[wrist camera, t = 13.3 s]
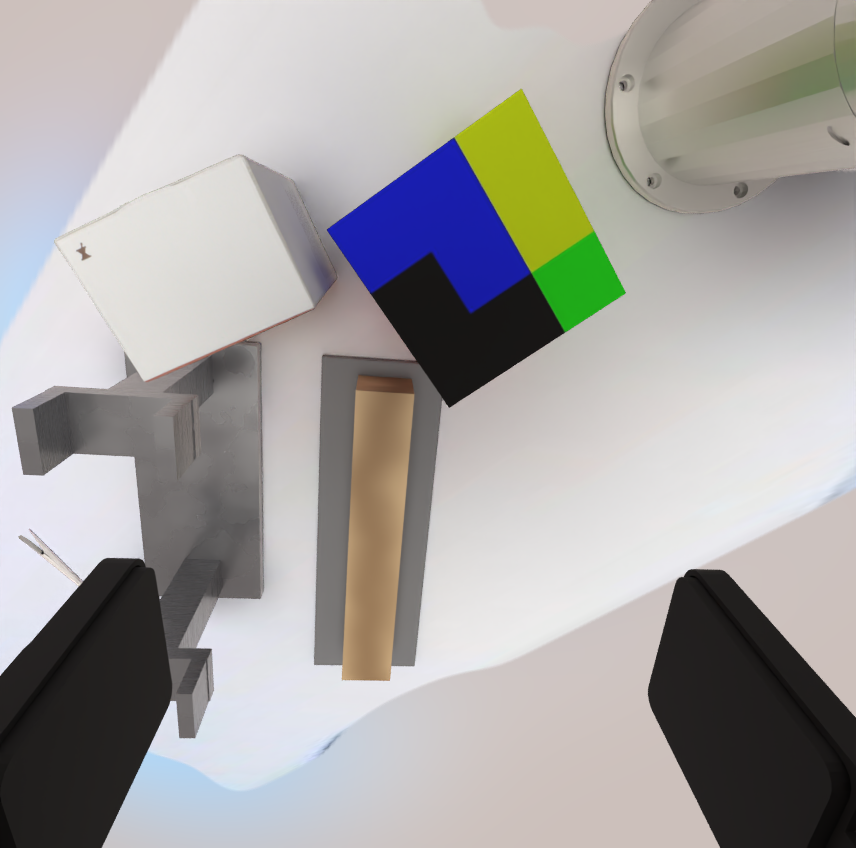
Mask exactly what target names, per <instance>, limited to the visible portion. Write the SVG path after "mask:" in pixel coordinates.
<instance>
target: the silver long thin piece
mask: <svg viewBox="0 0 856 848" xmlns="http://www.w3.org/2000/svg"><path fill="white" fill-rule="evenodd" d="M29 531H30V532H31V534H32V535H33V536H34V538H35V539H36V541H37V542H38V544H39V545H40V546H41V548H42V549H43V551H44V552H43V551H42V550H41V549H39V548H38V547H37V546H36V545H34V544H33V543H32V542H31V541H29V540H28V539H27V538H25V537H23V536H18V537H19V539H21V540H22V541H23V542H24V543H26V544H27V545H28V546H29V547H31V548H32V549H33V550H34V551H36V552H37V553H38V554H39V555H41V556H42V557H43V558H44V559H45V560H47V561H48V562H49V563H50V564H52V565H53V566H54V567H55V568H57V569H58V570H59V571H60V572H62V573H63V574H64V575H65V576H67V577H68V578H69V579H70V580H71V581H73V582H74V583H75V584H76V585H78V586H80V585H81V584H82V582H83V581H82V580H81V579H80V578H79V577H78V576H77V575H76V574H75V573H74V572H73V571H72V570H71V569H70V568H69V567H68V566H67V565H66V564H65V563H64V562H63V561H62V560H61V559H60V558H58V557H57V556H56V555H55V554H54V553H53V552H52V551H51V550H50V549H49V548H48V547H47V546H46V545H45V544H44V543H43V542H42V541H41V540H40V539H39V538H38V537H37V536H36V535H35V534H34V533H33V532H32V531H31V530H30V529H29Z"/></svg>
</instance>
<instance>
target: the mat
mask: <svg viewBox="0 0 856 848" xmlns="http://www.w3.org/2000/svg"><path fill="white" fill-rule="evenodd" d="M358 375H363V376H378V377H392V378H407V379H412V383H413V389H414V405H413V417H412V429H411V440H410V452H409V464H408V475H407V487H406V499H405V510H404V522H403V534H402V545H401V557H400V569H399V580H398V592H397V604H396V615H395V627H394V639H393V650H392V662H391V666H414V665H415V655H416V645H417V635H418V626H419V616H420V606H421V596H422V587H423V577H424V567H425V557H426V548H427V538H428V528H429V519H430V509H431V499H432V489H433V480H434V470H435V460H436V450H437V441H438V431H439V421H440V411H441V402H442V397H441V395H440V394H439V392H438V391H437V389H436V388H435V387H434V385H433V384H432V382H431V381H430V379H429V378H428V376H427V375H426V374H425V372H424V371H423V369H422V368H421V366H420V365H419V363H418V362H413V361H399V360H384V359H370V358H356V357H342V356H328V355H323V356H322V380H321V419H320V458H319V497H318V537H317V576H316V615H315V654H314V665H343V645H344V625H345V604H346V583H347V562H348V542H349V521H350V500H351V479H352V459H353V438H354V417H355V396H356V386H357V380H358Z"/></svg>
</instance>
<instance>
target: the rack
mask: <svg viewBox="0 0 856 848" xmlns="http://www.w3.org/2000/svg"><path fill="white" fill-rule="evenodd" d="M124 354H125V364H126V374H127V378H126V379H124V380H122V381H121V382H119V383H117V384H116V385H114V386H112V387H111V388H109V389H95V388H79V387H63V386H54V387H52V388H50V389H48V390H46V391H45V392H43V393H41V394H39V395H37V396H35V397H33V398H31V399H29V400H26V401H24V402H22V403H20V404H18V405H16V406H14V407H12V412H13V418H14V423H15V429H16V435H17V441H18V447H19V452H20V458H21V464H22V470H23V475H45V474H46V473H47V472H49V471H50V470H52V469H53V468H54V467H56V466H57V465H58V464H60V463H61V462H62V461H64V460H65V459H67V458H68V457H69V456H71V455H72V454H93V455H112V456H132V457H135V467H136V477H137V487H138V498H139V508H140V518H141V529H142V539H143V549H144V559H145V566H146V567H151V568H153V569H154V571H155V575H156V581H157V587H158V594H159V596H162V598H161V599H160V607H161V613H162V620H163V626H164V633H165V639H166V646H167V652H168V659H169V665H170V672H171V678H172V696H171V700H170V701H176V702H177V714H178V726H179V738H195V737H196V735H197V732H198V729H199V726H200V724H201V721H202V718H203V716H204V713H205V710H206V708H207V705H208V702H209V701H210V699H211V696H212V694H213V691H214V683H213V664H212V649H199V648H196V647H197V644H198V642H199V640H200V638H201V635H202V633H203V631H204V629H205V626H206V624H207V622H208V620H209V617H210V615H211V613H212V611H213V609H214V606H215V604H216V602H217V600H218V598H251V599H261V596H262V593H263V515H262V437H261V359H260V343H252V342H239V343H237V344H235V345H232V346H230V347H228V348H226V349H223V350H221V351H219V352H216V353H214V354H212V355H210V356H208V357H205V358H203V359H201V360H199V361H196V362H194V363H192V364H189V365H187V366H185V367H182V368H180V369H178V370H176V371H173V372H171V373H169V374H166V375H164V376H162V377H159V378H157V379H155V380H152V381H149V382H144V381H143V379H142V378H141V376H140V375H139V373H138V371H137V370H136V368H135V367H134V365H133V364H132V362H131V361H130V359H129V358H128V356H127V355H126V353H125V351H124Z"/></svg>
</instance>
